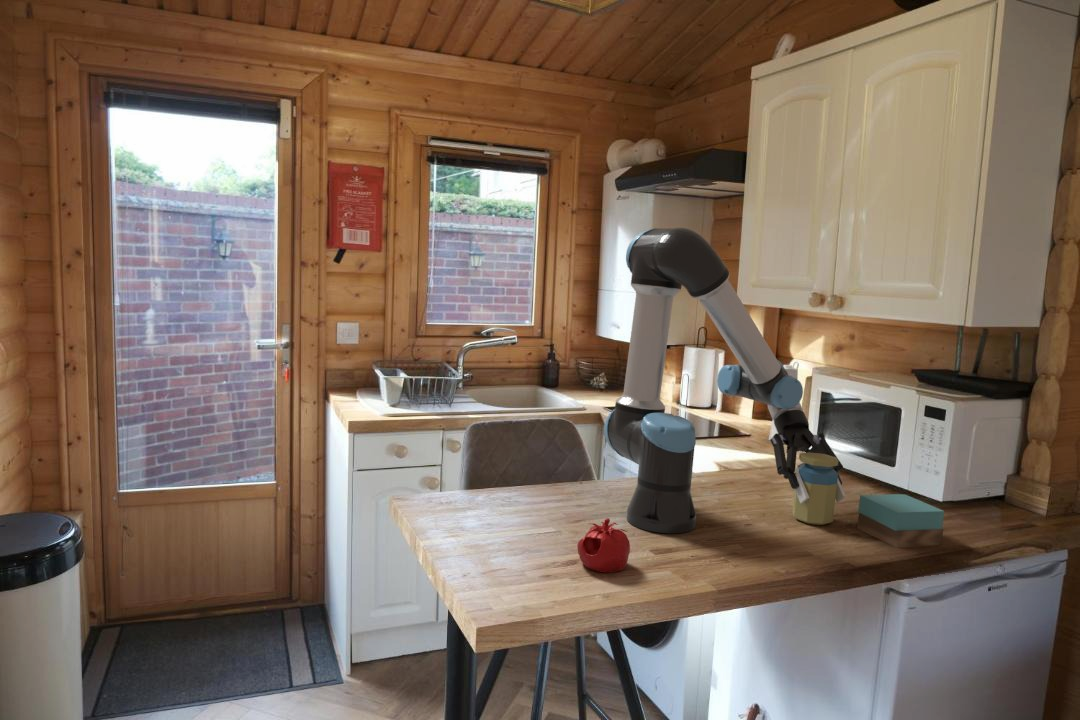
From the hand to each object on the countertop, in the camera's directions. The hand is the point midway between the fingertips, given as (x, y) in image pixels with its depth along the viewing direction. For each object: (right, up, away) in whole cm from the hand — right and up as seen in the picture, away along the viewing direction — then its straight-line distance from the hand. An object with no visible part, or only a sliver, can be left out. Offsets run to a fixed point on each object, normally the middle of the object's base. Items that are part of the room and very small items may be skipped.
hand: (823, 499), depth 171 cm
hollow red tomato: (-53, -7, -30) cm, 61 cm away
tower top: (+15, -4, -4) cm, 16 cm away
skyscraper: (+18, +4, +86) cm, 88 cm away
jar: (-1, -6, +4) cm, 7 cm away
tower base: (+15, -8, -4) cm, 18 cm away
